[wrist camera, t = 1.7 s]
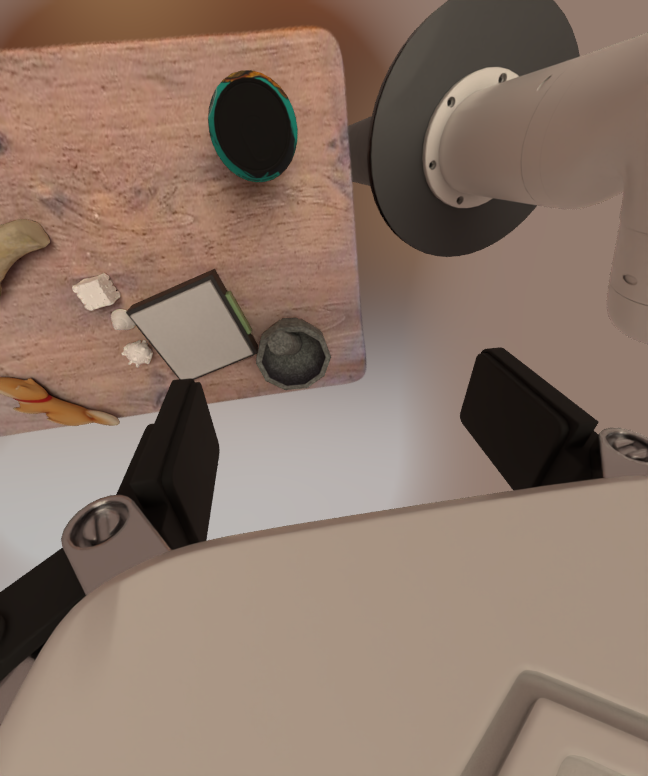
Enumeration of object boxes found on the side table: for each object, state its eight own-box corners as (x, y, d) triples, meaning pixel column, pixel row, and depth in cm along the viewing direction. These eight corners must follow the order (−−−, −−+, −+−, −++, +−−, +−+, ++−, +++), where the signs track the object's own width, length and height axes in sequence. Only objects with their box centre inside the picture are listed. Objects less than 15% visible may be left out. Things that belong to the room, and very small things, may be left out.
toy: (-6, 389, 47) (-10, 362, 44) (123, 424, 52) (126, 402, 49) (-25, 404, 44) (-30, 376, 41) (113, 439, 49) (116, 416, 46)
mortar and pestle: (330, 352, 50) (345, 398, 41) (274, 373, 51) (277, 423, 41) (305, 285, 44) (316, 321, 34) (242, 310, 44) (235, 351, 35)
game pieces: (82, 279, 39) (69, 287, 37) (108, 271, 39) (97, 279, 37) (137, 360, 46) (130, 372, 44) (159, 354, 46) (153, 365, 44)
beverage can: (267, 77, 32) (268, 40, 22) (301, 156, 36) (315, 155, 26) (208, 117, 33) (183, 99, 23) (247, 189, 37) (240, 200, 27)
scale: (218, 267, 41) (215, 274, 38) (261, 344, 48) (261, 354, 45) (132, 305, 42) (123, 314, 39) (186, 374, 49) (182, 386, 46)
